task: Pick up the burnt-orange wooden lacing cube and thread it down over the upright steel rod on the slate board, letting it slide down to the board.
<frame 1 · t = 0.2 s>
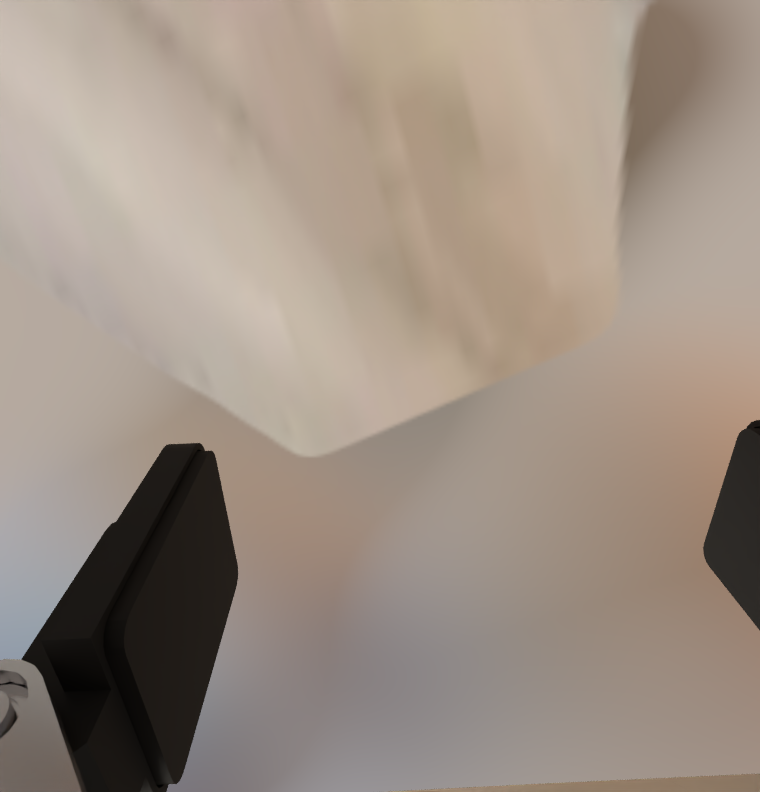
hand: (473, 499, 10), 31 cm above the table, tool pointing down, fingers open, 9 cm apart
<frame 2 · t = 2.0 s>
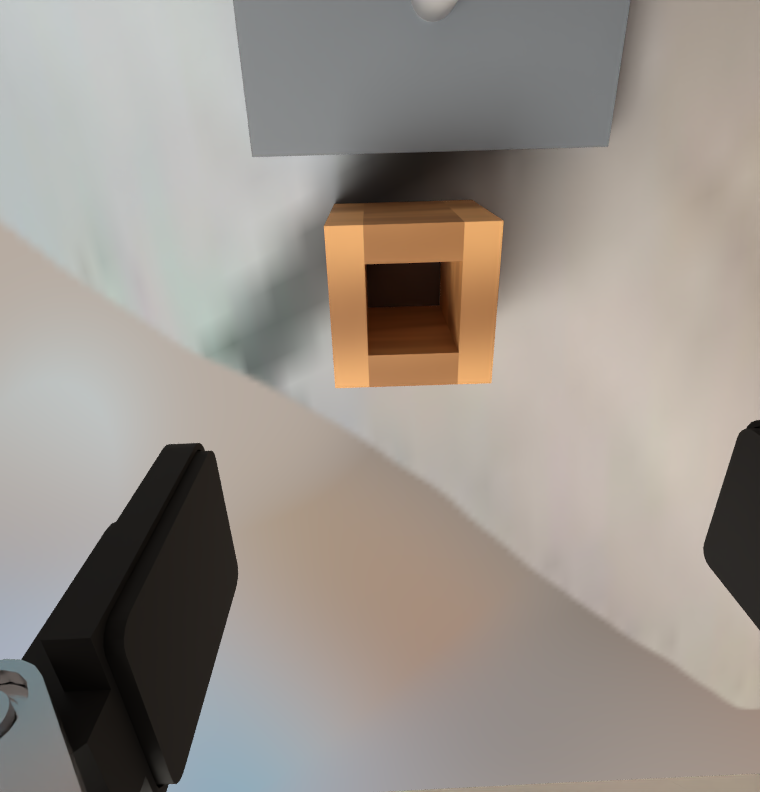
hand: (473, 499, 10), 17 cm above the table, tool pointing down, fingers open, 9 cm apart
lacing cube: (403, 270, 24), on the table
rod stand: (428, 3, 20), on the table
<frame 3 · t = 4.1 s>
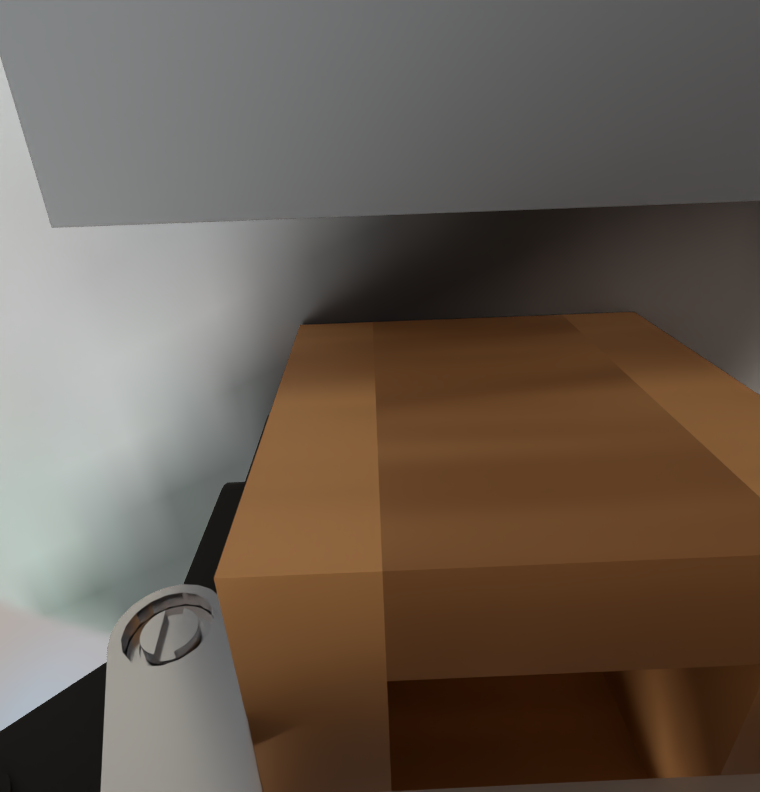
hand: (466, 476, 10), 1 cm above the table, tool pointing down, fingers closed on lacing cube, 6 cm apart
lacing cube: (461, 459, 11), on the table, touching gripper
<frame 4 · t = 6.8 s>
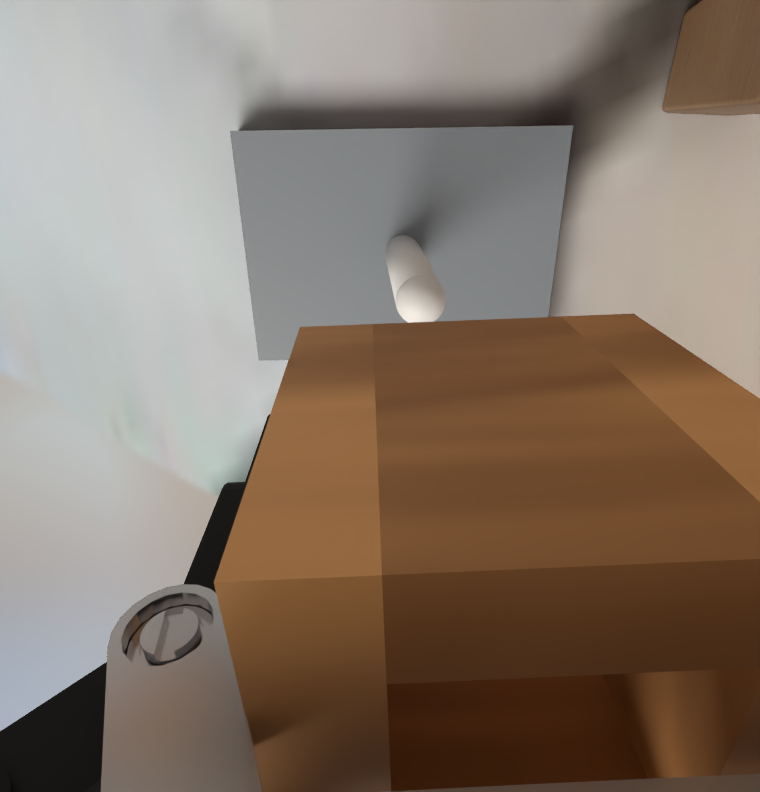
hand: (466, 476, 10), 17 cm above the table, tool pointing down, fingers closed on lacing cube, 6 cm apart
lacing cube: (461, 460, 11), point 16 cm above the table, touching gripper
rod stand: (400, 246, 25), on the table
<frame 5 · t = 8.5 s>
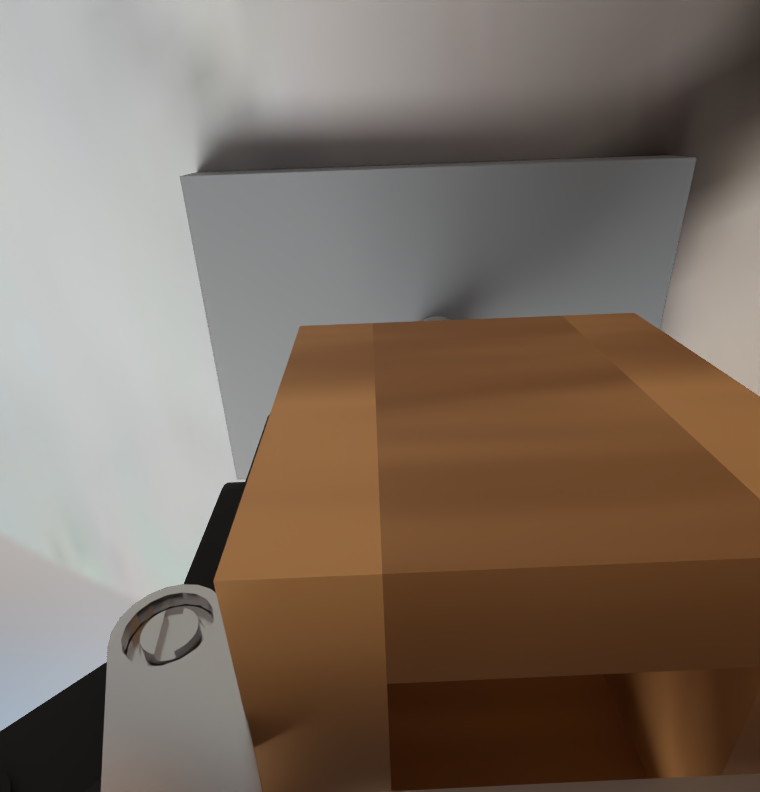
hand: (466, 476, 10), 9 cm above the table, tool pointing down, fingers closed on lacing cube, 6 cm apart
lacing cube: (461, 460, 11), point 8 cm above the table, touching gripper
rod stand: (430, 324, 18), on the table
when the fingers open (5 cm above the table, at t = 9.8 s): lacing cube drops 2 cm, resting on rod stand.
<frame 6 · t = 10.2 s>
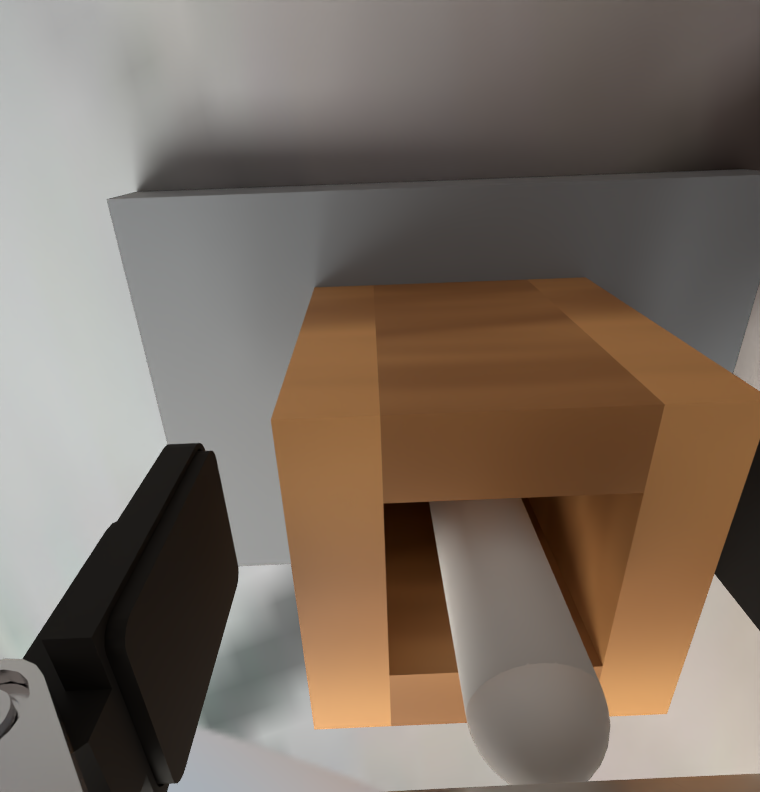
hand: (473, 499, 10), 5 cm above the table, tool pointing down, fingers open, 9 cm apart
lacing cube: (446, 403, 13), point 1 cm above the table, touching rod stand
rod stand: (437, 378, 14), on the table
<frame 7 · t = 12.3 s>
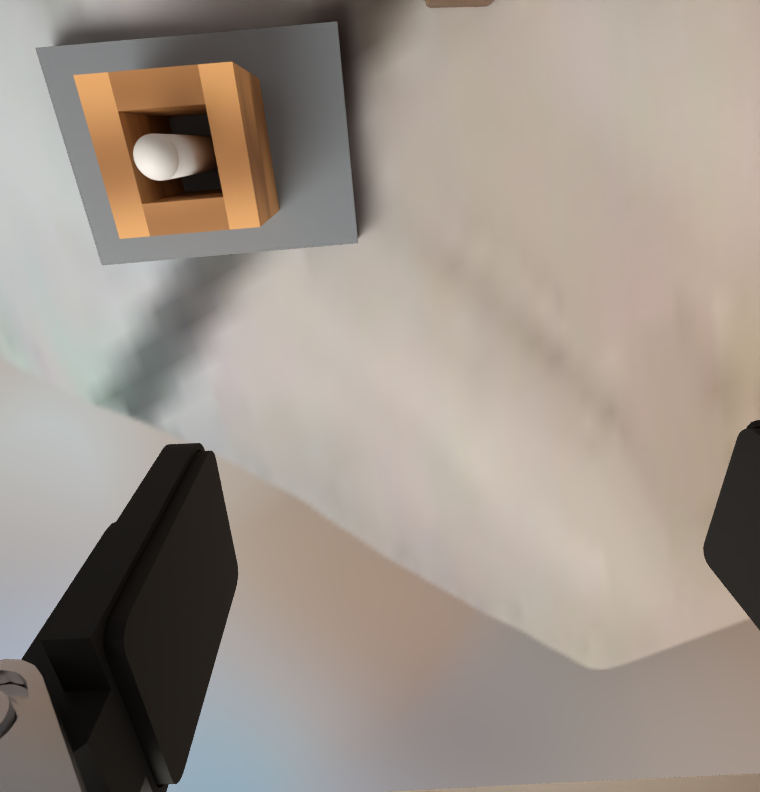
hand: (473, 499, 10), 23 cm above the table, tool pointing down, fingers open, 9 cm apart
lacing cube: (210, 152, 27), point 1 cm above the table, touching rod stand
rod stand: (217, 152, 28), on the table
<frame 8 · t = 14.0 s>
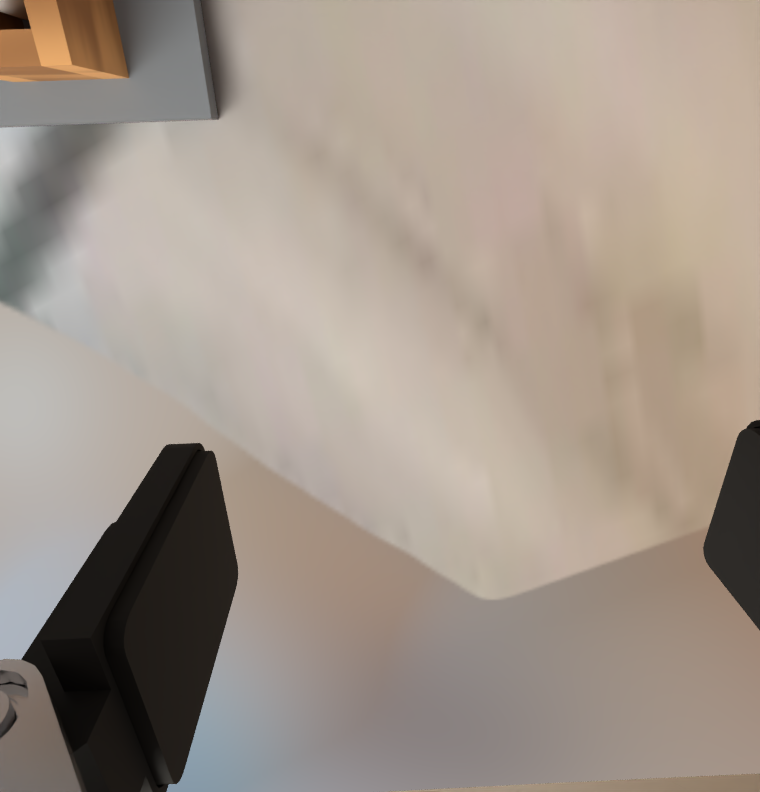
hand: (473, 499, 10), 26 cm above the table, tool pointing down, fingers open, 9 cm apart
lacing cube: (54, 10, 26), point 1 cm above the table, touching rod stand
rod stand: (68, 16, 28), on the table
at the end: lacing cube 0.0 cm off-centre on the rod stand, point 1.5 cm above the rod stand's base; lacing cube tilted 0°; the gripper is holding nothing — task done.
